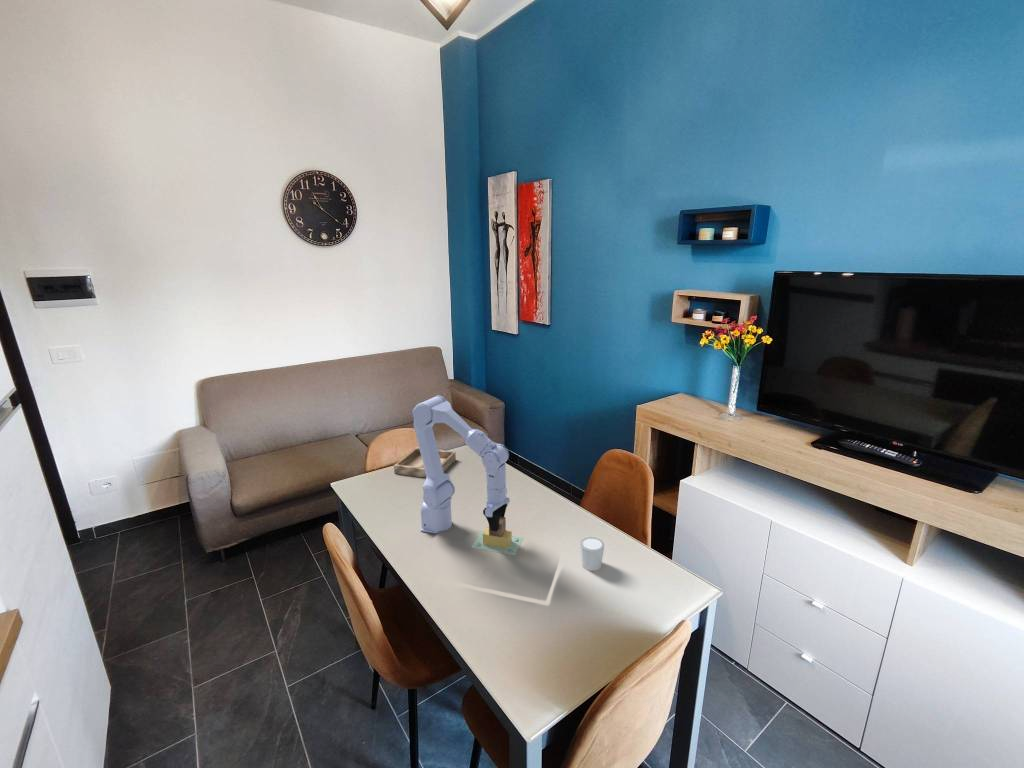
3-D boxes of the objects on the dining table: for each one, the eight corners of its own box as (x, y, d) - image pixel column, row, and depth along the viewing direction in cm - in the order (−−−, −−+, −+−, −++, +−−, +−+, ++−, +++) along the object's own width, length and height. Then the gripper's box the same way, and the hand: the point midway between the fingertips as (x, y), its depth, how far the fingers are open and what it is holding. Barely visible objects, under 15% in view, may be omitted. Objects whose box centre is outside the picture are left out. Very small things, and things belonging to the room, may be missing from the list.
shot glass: (605, 559, 138) (606, 539, 136) (601, 574, 132) (602, 552, 130) (581, 555, 141) (582, 534, 139) (577, 569, 134) (577, 548, 132)
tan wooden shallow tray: (394, 473, 194) (393, 465, 193) (416, 454, 211) (416, 447, 210) (436, 479, 188) (436, 471, 187) (455, 459, 205) (455, 452, 204)
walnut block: (489, 535, 143) (488, 522, 142) (493, 528, 147) (493, 515, 145) (501, 537, 142) (501, 524, 141) (505, 530, 146) (505, 517, 144)
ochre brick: (482, 544, 145) (482, 534, 144) (487, 536, 148) (487, 526, 147) (507, 548, 142) (507, 538, 141) (511, 541, 146) (511, 531, 145)
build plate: (470, 550, 143) (470, 546, 143) (481, 533, 152) (481, 530, 151) (514, 558, 139) (514, 554, 139) (523, 540, 148) (523, 537, 147)
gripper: (501, 499, 132) (501, 541, 136) (516, 476, 145) (516, 515, 149) (477, 495, 134) (479, 537, 138) (494, 473, 148) (495, 511, 151)
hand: (497, 525), depth 144 cm, fingers open, 5 cm apart
